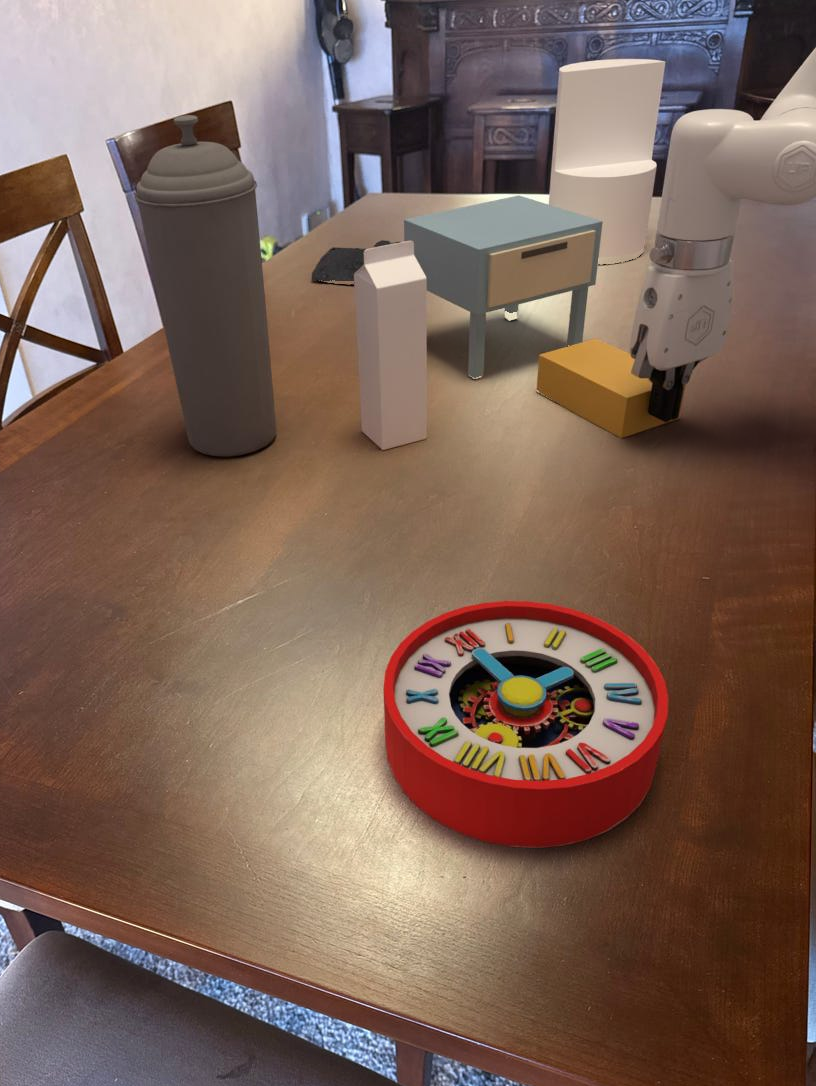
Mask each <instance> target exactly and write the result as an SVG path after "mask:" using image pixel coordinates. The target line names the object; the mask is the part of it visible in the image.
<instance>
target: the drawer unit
mask: <svg viewBox="0 0 816 1086" xmlns="http://www.w3.org/2000/svg"><path fill="white" fill-rule="evenodd" d="M602 223H603V221H600V220H597V219H594V218H591V217H587V216H584V215H581V214H578V213H574V212H571V211H568V210H565V209H561V208H558V207H555V206H552V205H549V203H545V202H541V201H539V200H535V199H533V198H528V197H526V196H522V195H514V196H509V197H503V198H500V199H495V200H490V201H485V202H480V203H476V204H472V205H471V204H470V205H467V206H461V207H457V208H451V209H447V210H442V211H436V212H433V213H432V212H431V213H428V214H427V213H426V214H423V215H418V216H414V217H409V218H404V219H403V242H406V241H413V242H414V256H415V258H416V259H417V261H418V263H419V265H420V267H421V269H422V270H423V272H424V274H425V276H426V281H427V292H429V293H431V294H433V295H435V296H437V297H438V298H440V299H443V300H445V301H447V302H449V303H451V304H452V305H455V306H457V307H459V308H461V309H463V310H465V311H467V312H469V334H468V335H469V339H468V369H467V370H468V371H467V372H468V373H467V375H468V374H469V375H470V376H472V377H474V378H476V377H479V376H482V375H483V376H484V370H485V369H484V367H485V348H486V347H485V345H486V320H487V313H491V312H495V311H499V310H502V309H504V312H505V311H507V312H509V313H513V312H517V311H518V312H519V306H520V305H522V304H526V303H530V302H535V301H537V300H538V301H539V300H542V299H545V298H549V297H553V296H557V295H561V294H564V293H569V292H571V300H570V310H569V320H568V329H567V330H568V332H567V341H566V346H567V345H569V346H571V345H575V344H578V343H582V342H583V339H584V330H585V323H586V322H585V321H586V313H587V304H588V303H587V302H588V296H589V287H593V286H595V285H596V282H597V275H598V258H599V249H600V241H601V232H602Z"/></svg>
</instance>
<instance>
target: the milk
mask: <svg viewBox="0 0 816 1086" xmlns="http://www.w3.org/2000/svg"><path fill="white" fill-rule="evenodd" d="M400 242H401V243H396V244H390V245H385V246H380V247H375V248H374V247H371V248H366V250H365V251H364V265H363V266H362V267H361V268H360V269H359V270H358V271H357V272H356V273H354V299H355V300H354V302H355V304H354V306H355V324H356V326H355V327H356V341H357V344H356V345H357V363H358V365H357V366H358V379H359V380H358V382H359V404H360V405H359V407H360V422H361V432H362V433H363V434H364V435H365V436H366V437H367V438H368V439H370V440H371V441H372V442H373V443H374V444H375V445H376V446H377V447H378V448H379V449H381V450H382V451H385V450H389V449H393V448H398V447H400V446H405V445H408V444H412V443H416V442H420V441H424V440H426V439H427V436H428V434H427V433H428V432H427V431H428V430H427V428H428V426H427V423H428V422H427V421H428V419H427V416H428V415H427V413H428V412H427V410H428V409H427V407H428V406H427V405H428V403H427V402H428V401H427V399H428V397H427V395H428V394H427V393H428V392H427V389H428V388H427V381H428V379H427V378H428V376H427V372H428V369H427V365H428V364H427V362H428V361H427V355H428V353H427V352H428V350H427V348H428V347H427V346H428V345H427V341H428V340H427V325H428V324H427V323H428V322H427V321H428V320H427V318H428V317H427V316H428V315H427V311H428V310H427V307H428V306H427V303H428V302H427V301H428V300H427V293H428V291H427V281H426V276H425V274H424V272H423V270H422V269H421V267H420V265H419V263H418V261H417V259H416V258H415V256H414V242H413V241H406V242H404V241H400Z"/></svg>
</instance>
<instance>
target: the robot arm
mask: <svg viewBox="0 0 816 1086" xmlns="http://www.w3.org/2000/svg"><path fill="white" fill-rule="evenodd" d="M669 140H670V141H669V145H668V153H667V159H666V166H665V174H664V179H663V187H662V194H661V199H660V206H659V214H658V219H657V225H656V233H655V239H654V246H653V247H652V248H651V249H650V251H649V259H650V261H651V265H649V266H648V268H647V270H646V273H645V276H644V279H643V282H642V286H641V289H640V292H639V293H640V294H639V295H638V301H637V304H636V309H635V312H634V313H635V314H634V318H633V324H632V329H631V336H630V343H629V344H630V345H629V354H630V355H631V357H632V358H633V359H635V361H634V364H633V367H632V370H631V374H632V375H634V376H636V377H638V378H648V380H649V382H651V383H652V389H651V395H650V401H649V407H648V413H649V414H650V415H652V416H654V417H656V418H658V419H660V420H662V421H664V422H667V423H669V422H668V421H670V420H671V419H672V420H673V421H675V420H674V419H676V420H678V419H677V418H678V416H679V410H680V405H681V400H682V394H683V389H684V386H683V385H687V384H689V382H690V380H691V377H692V374H693V371H694V369H695V368H696V367H697V366H698V364H700V363H702V362H703V361H705V360H706V359H708V358H710V357H713V356H715V355H716V354H718V353H719V352H721V351H722V350H723V348H724V346H725V344H726V341H727V335H728V330H729V324H730V320H731V319H730V317H731V312H732V311H731V310H732V304H733V295H734V284H735V283H734V280H735V278H734V276H735V271H734V270H735V268H734V267H735V266H734V260H733V259H731V253H732V248H733V244H734V239H735V234H736V228H737V224H738V218H739V215H740V214H739V213H740V208H741V205H742V200H746V201H753V202H757V203H758V202H759V203H764V204H770V205H775V206H797V205H802V204H805V203H808V202H810V201H812V200H814V199H816V47H815V48H814V49H813V51H811V53H810V54H809V55H808V56H807V57H806V59H805V60H804V61H803V63H802V65H800V67H799V68H798V69H797V71H796V72H795V73H794V74H793V75H792V77H791V78H790V79H789V81H788V82H787V83H786V85H784V87H783V88H782V89H781V91H780V92H779V94H778V95H777V96H776V98H775V99H774V100H773V102H772V103H771V104H770V105H769V107H768V108H767V109H766V111H765V112H764V114H763V115H762V117H761V118H760V119H759V120H754V118H753V117H752V116H751V115H750V114H749V113H747V112H745V111H742V110H737V109H730V108H729V109H727V108H710V109H702V110H701V109H700V110H694V111H689V112H688V113H685V114H683V115H682V116H681V117H680V118H678V119H677V120H676V122H675V124H674V125H673V128H672V131H671V135H670V139H669ZM670 422H671V421H670Z"/></svg>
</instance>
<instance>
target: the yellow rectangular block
mask: <svg viewBox="0 0 816 1086" xmlns="http://www.w3.org/2000/svg"><path fill="white" fill-rule="evenodd" d="M634 361H635V359H633V358H632V357H631V355H630V352H628V351H624V350H622V349H620V348H618V347H616V346H613V345H611V344H609V343H606V342H605V341H602V340H600V339H598V338H591V339H588V340H585V341H582V343H578V344H575V345H571V346H568V347H567V346H564V347H561V348H557V349H554V350H550V351H546V352H544V353H540V354H539V355H538V365H537V366H538V367H537V378H536V390H538V391H539V392H540V393H542V394H544V395H545V396H547V397H548V398H550V399H552V400H553V401H552V400H551V401H552V402H554V401H555V402H557V403H559V404H560V405H559V404H558V405H559V406H561V405H562V406H561V407H563V406H564V407H563V408H565V409H566V410H568V411H570V412H572V413H574V414H576V415H578V416H580V417H581V418H583V419H584V420H587V421H589V422H591V423H592V424H594V425H595V426H598V427H600V428H602V429H603V430H605V431H607V432H608V433H611V434H613V435H615V436H616V437H618V438H620V439H623V438H626V437H630V436H632V435H635V434H638V433H641V432H644V431H646V430H650V429H652V428H655V427H658V426H661V425H664V424H667V423H670V422H674V421H675V420H680V417H681V412H682V408H683V407H682V406H683V402H684V396H685V390H686V385H687V384H686V385H683V386H684V389H683V394H682V400H681V405H680V410H679V416H678V418H677V419H674V420H672V419H671V420H670V421H668V422H664V421H662V420H660V419H658V418H656V417H654V416H652V415H650V414H649V413H648V407H649V401H650V395H651V389H652V383H651V382H649V380H648V378H638V377H636V376H634V375H632V374H631V370H632V367H633V364H634ZM548 398H547V399H548ZM550 399H549V400H550ZM555 402H554V403H555ZM557 403H556V404H557Z"/></svg>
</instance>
